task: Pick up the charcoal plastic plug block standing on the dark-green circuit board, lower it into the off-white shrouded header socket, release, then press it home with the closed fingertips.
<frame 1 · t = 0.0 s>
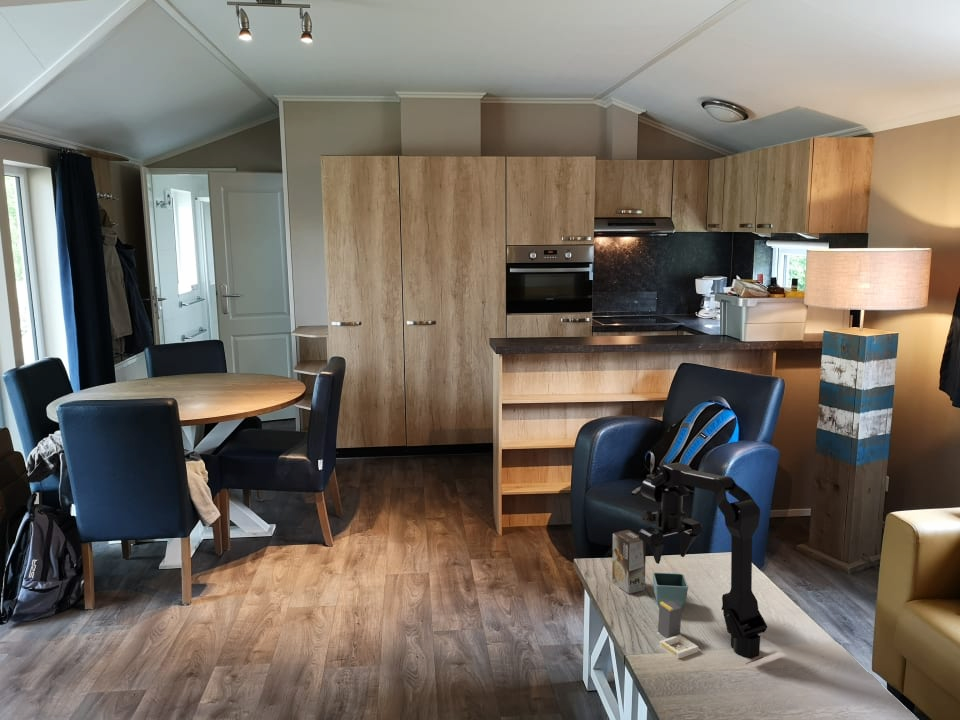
hand: (669, 559, 216), 15 cm above the table, fingers open, 9 cm apart
plug: (668, 633, 203), point 1 cm above the table, touching header board
header board: (673, 646, 198), on the table
flower pot: (669, 609, 218), on the table
coffee box: (628, 586, 233), on the table
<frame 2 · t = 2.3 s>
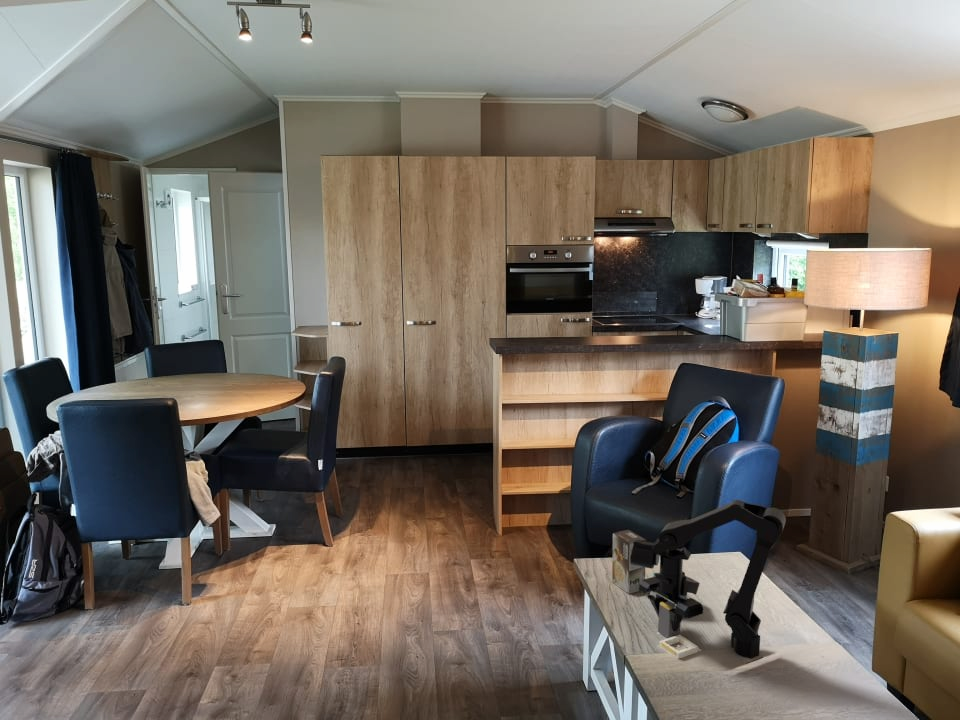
hand: (669, 626, 202), 3 cm above the table, fingers closed on plug, 4 cm apart
plug: (668, 633, 203), point 1 cm above the table, touching gripper, header board
everything else where it was.
when the fingers open (4 cm above the table, at t = 6.1 s): plug stays where it is, resting on header board.
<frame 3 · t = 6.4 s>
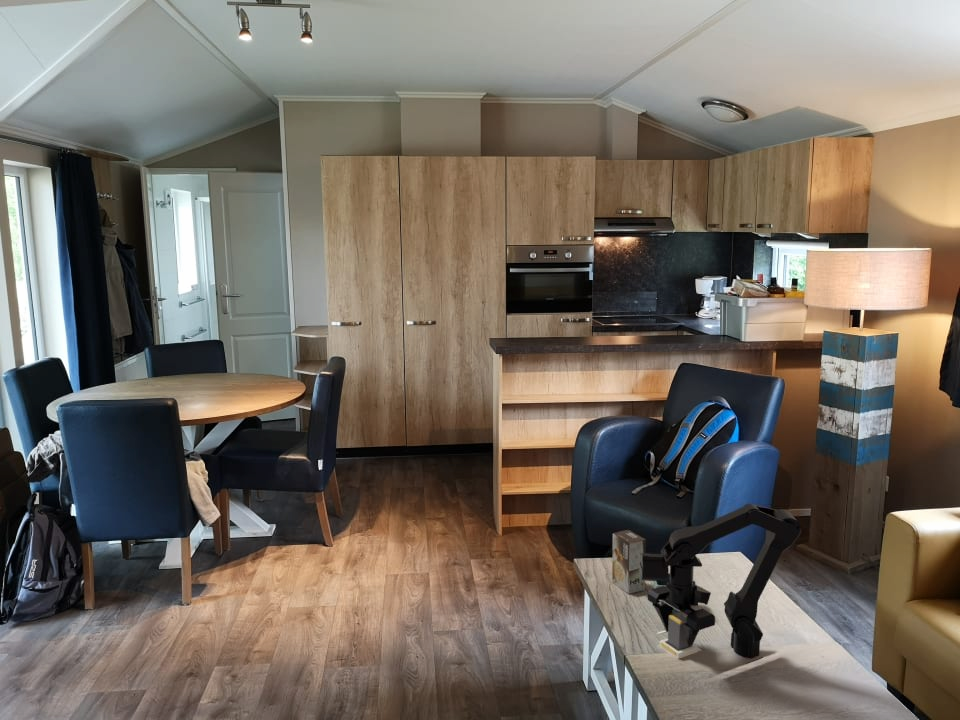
hand: (679, 638, 195), 4 cm above the table, fingers open, 8 cm apart
plug: (679, 648, 195), point 1 cm above the table, touching header board
everything else where it was.
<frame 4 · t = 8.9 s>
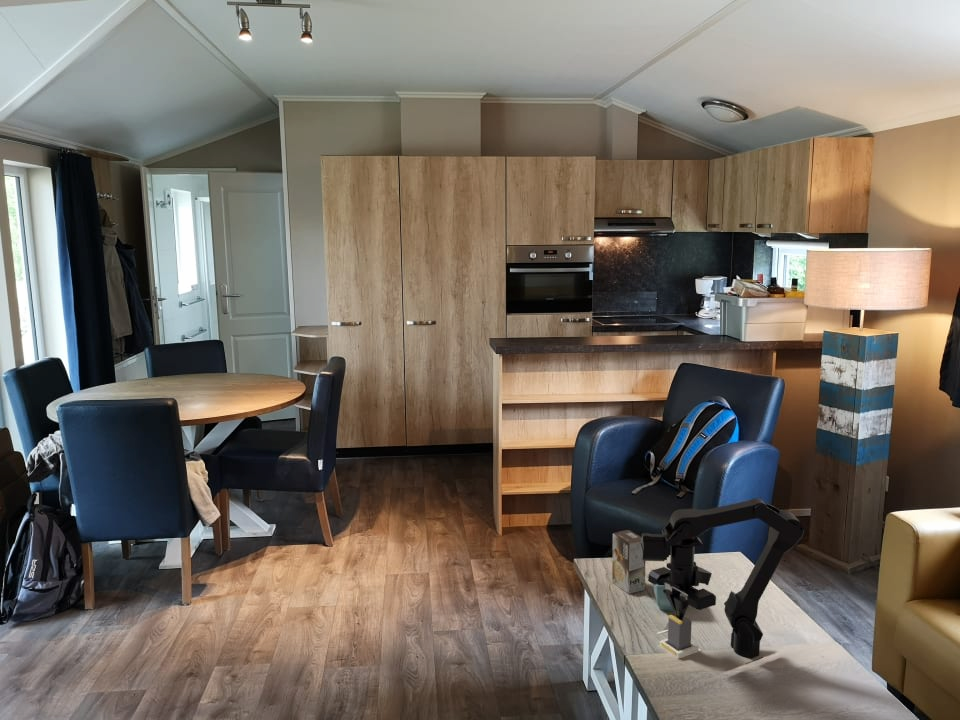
hand: (679, 619, 194), 9 cm above the table, fingers closed, pressing on plug
plug: (679, 648, 195), point 1 cm above the table, touching gripper, header board
everything else where it was.
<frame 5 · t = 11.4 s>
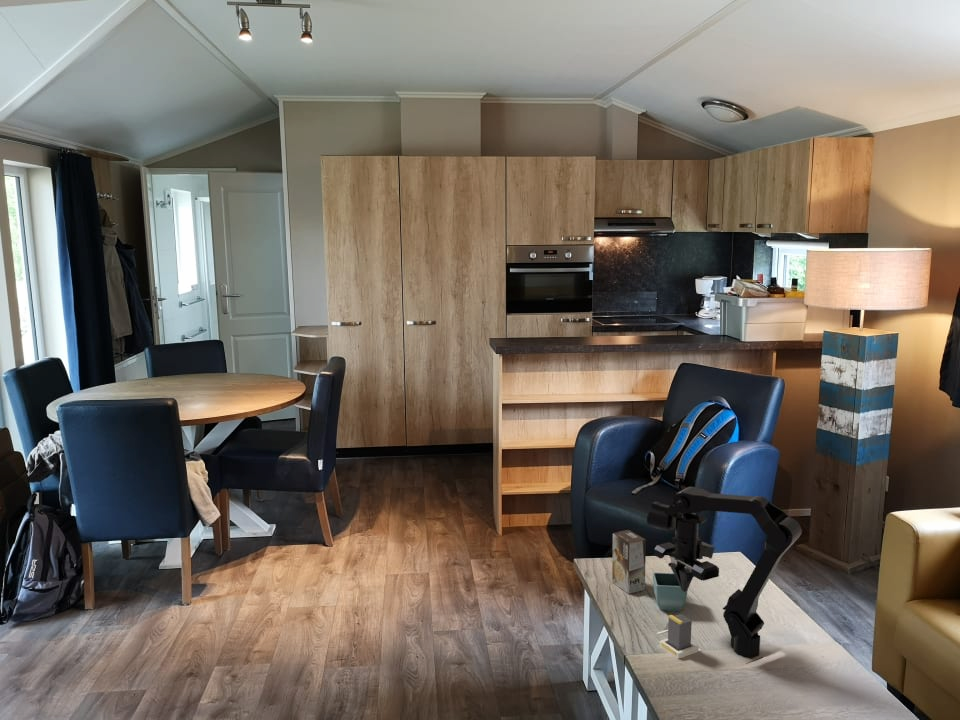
hand: (684, 590, 203), 12 cm above the table, fingers closed
plug: (679, 648, 195), point 1 cm above the table, touching header board
everything else where it was.
at the end: plug 0.1 cm from the target spot on the header board, point 1.3 cm above the header board's base; plug tilted 0°; the gripper is holding nothing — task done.
